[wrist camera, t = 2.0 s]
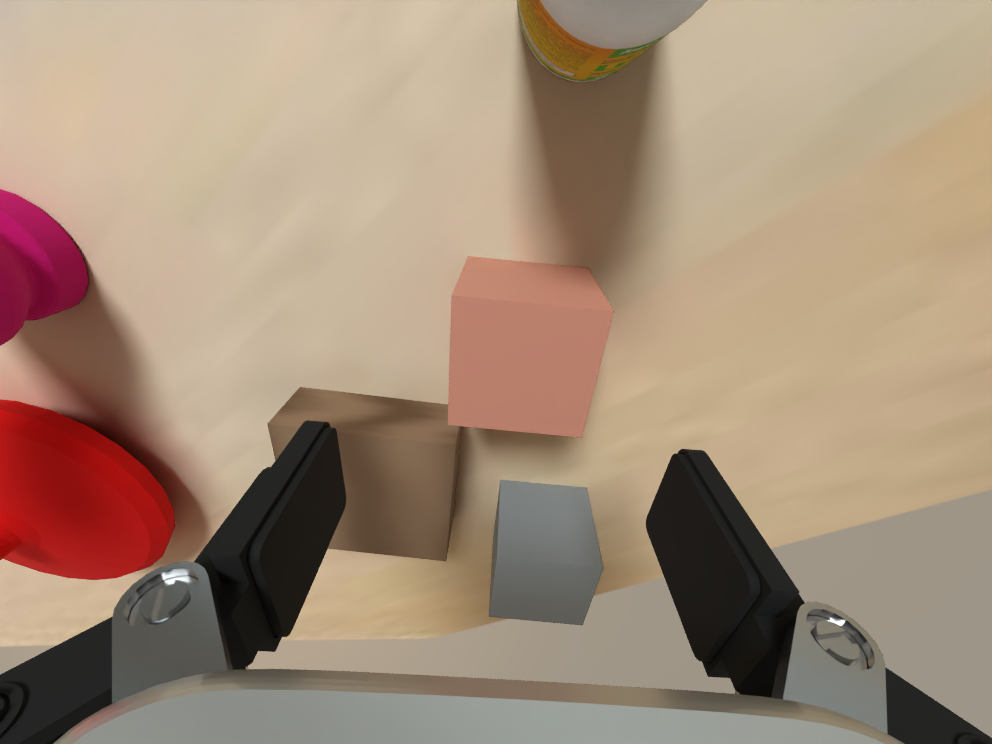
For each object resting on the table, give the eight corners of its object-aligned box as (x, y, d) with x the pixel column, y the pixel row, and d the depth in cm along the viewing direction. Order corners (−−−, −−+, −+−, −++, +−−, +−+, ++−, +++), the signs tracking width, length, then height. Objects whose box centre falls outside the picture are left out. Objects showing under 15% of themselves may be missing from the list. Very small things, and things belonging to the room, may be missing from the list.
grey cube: (586, 487, 27) (603, 567, 22) (570, 542, 30) (582, 625, 25) (500, 479, 27) (497, 557, 22) (493, 535, 30) (488, 616, 25)
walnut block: (463, 403, 24) (455, 445, 21) (453, 512, 29) (446, 561, 26) (302, 384, 24) (267, 424, 21) (320, 497, 29) (294, 544, 26)
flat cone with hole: (241, 522, 31) (173, 615, 24) (88, 554, 34) (-6, 645, 27) (80, 349, 23) (-75, 421, 17) (-98, 409, 26) (-284, 489, 20)
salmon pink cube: (587, 267, 20) (613, 311, 14) (566, 370, 23) (582, 437, 17) (468, 255, 20) (451, 295, 14) (463, 360, 23) (447, 425, 17)
